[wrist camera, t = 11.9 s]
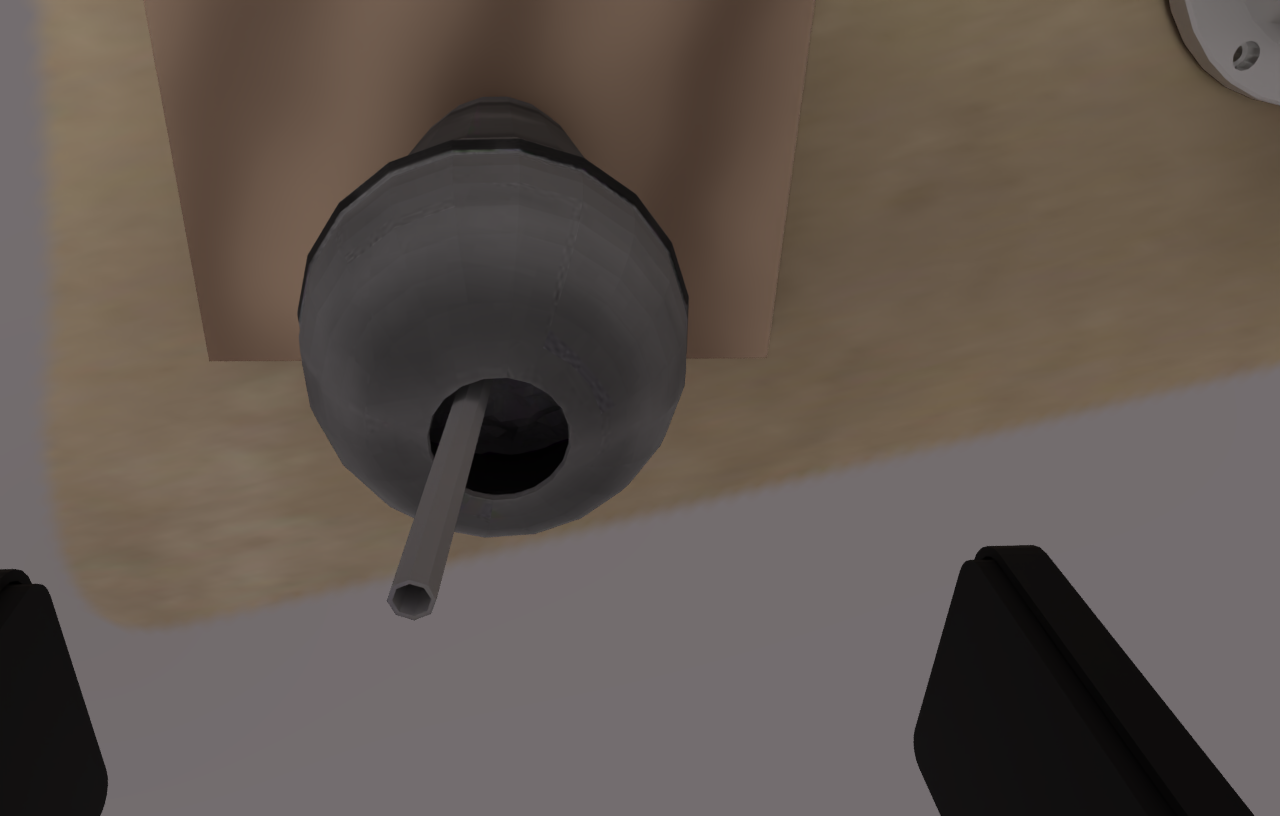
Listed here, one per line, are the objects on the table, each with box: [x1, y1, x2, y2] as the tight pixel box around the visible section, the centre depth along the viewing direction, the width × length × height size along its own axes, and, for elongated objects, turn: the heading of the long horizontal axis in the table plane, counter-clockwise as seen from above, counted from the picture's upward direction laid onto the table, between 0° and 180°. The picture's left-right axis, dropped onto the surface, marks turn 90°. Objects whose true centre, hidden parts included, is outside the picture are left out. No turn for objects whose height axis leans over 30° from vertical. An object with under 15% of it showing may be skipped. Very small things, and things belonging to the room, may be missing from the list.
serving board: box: [144, 0, 816, 361], centre depth 28 cm, size 18×12×2 cm, turn 87°
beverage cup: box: [297, 97, 689, 620], centre depth 19 cm, size 7×7×20 cm
